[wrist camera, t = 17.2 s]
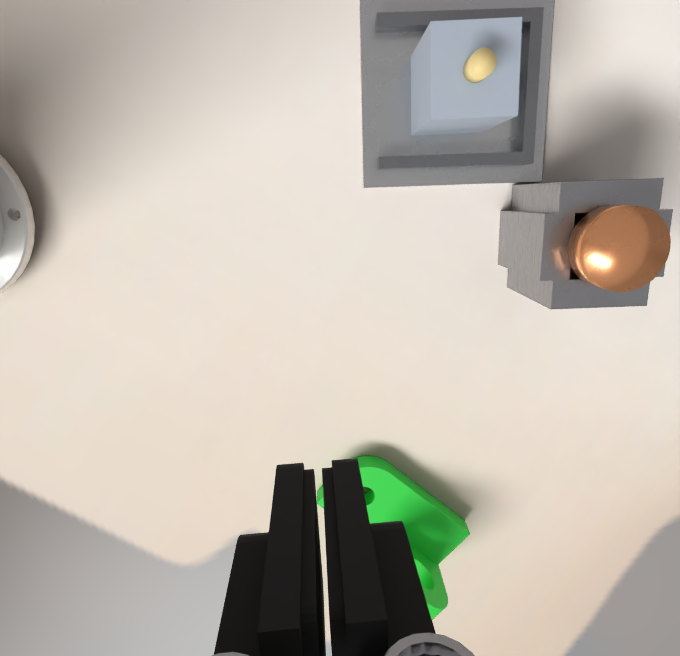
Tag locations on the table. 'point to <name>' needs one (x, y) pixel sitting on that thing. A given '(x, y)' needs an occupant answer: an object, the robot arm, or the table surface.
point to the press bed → (454, 148)
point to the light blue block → (465, 75)
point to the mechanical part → (412, 522)
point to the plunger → (619, 247)
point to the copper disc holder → (566, 239)
